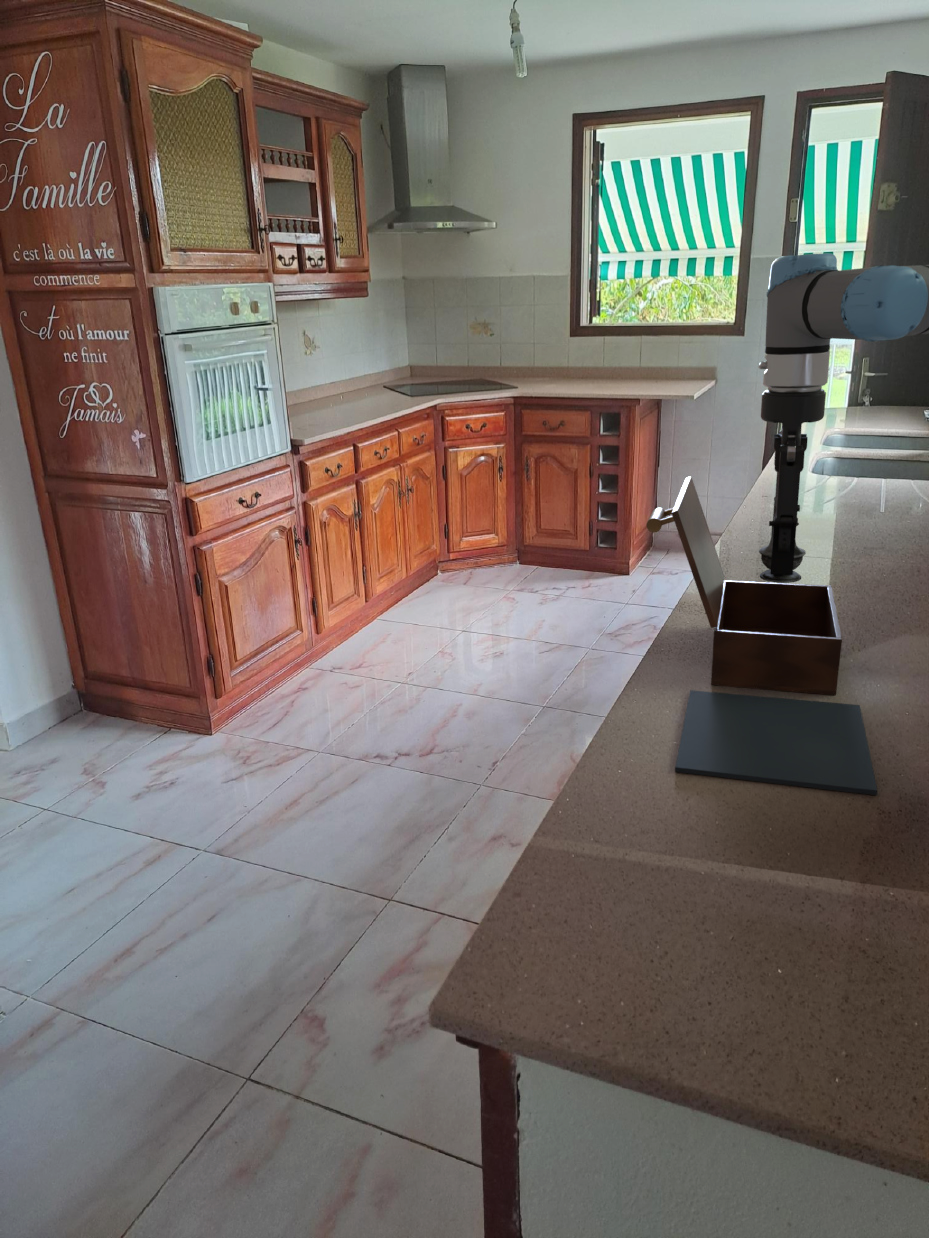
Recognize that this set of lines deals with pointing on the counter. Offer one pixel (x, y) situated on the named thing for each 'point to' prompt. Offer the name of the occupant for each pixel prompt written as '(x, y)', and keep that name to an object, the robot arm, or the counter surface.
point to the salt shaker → (767, 555)
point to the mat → (776, 742)
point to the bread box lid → (695, 546)
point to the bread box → (777, 638)
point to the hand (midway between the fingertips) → (781, 566)
